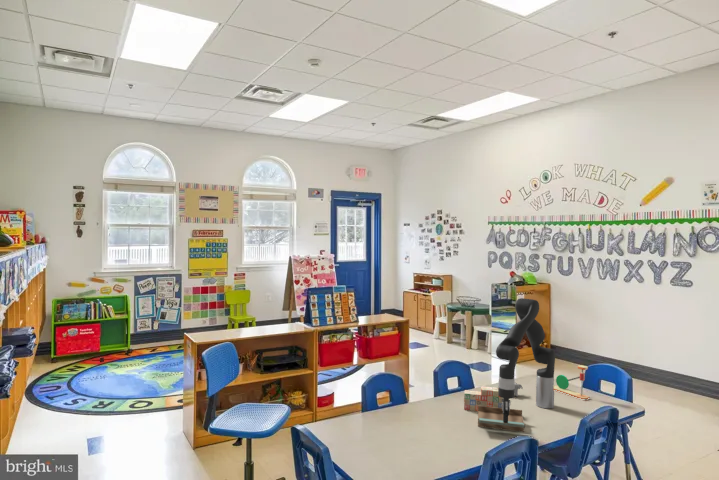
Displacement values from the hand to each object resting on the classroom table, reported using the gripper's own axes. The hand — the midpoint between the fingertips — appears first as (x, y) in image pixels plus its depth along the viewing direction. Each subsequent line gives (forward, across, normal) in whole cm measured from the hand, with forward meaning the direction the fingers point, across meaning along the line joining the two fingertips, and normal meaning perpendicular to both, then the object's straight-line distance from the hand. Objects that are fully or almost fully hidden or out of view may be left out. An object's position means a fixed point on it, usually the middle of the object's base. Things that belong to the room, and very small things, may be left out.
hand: (505, 422), depth 226 cm
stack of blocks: (+6, +31, +10) cm, 33 cm away
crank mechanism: (+4, +76, -42) cm, 87 cm away
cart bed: (+6, +12, +2) cm, 14 cm away
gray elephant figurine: (+5, +63, -8) cm, 63 cm away
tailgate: (+2, +5, +2) cm, 6 cm away
